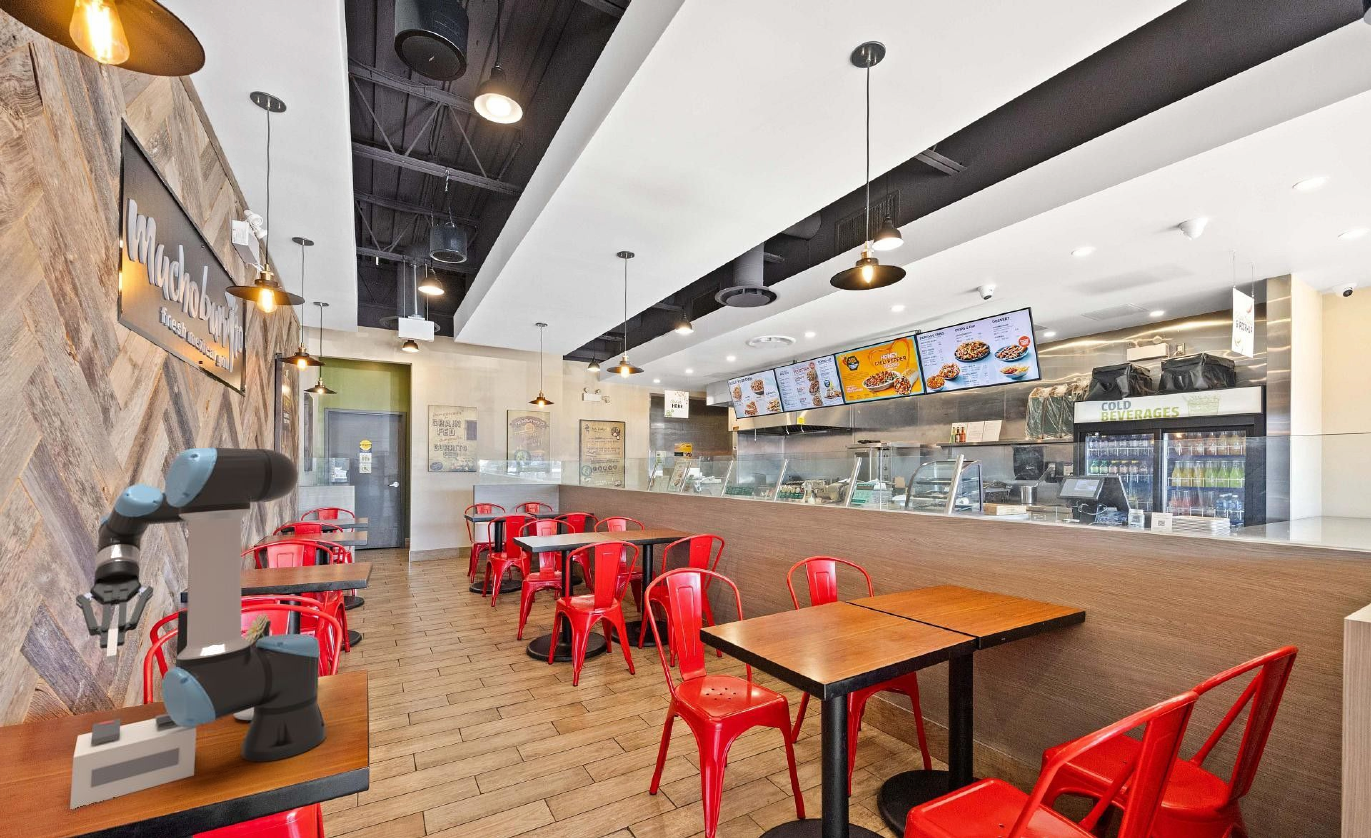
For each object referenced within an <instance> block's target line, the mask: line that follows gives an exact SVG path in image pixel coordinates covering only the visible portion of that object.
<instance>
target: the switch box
mask: <svg viewBox="0 0 1371 838" xmlns="http://www.w3.org/2000/svg"><path fill="white" fill-rule="evenodd" d="M155 719H156V717H155V718H151V719H146V720H142V721H138V722H132V723H129V724H124V725H120V737H119V738H118V739H114V740H109V741H105V742H101V743H97V744H92V745H91V739H92V732H89V733H84V734H78V735H77V739H76V744H75V749H74V753H73V760H72V775H71V790H70V804H69V805H70V806H69V807H70V808H69V810H70V811H72V810H75V808H76V809H78V808H77V807H79V808H81V807H80V806H83V805H86V806H89V804H90V805H92V804H91V803H93V802H97V803H100V801H101V802H103V800H104V801H107V800H111V799H114V798H113V797H115V798H118V797H123V796H125V795H128V794H133V793H136V792H140V791H143V790H146V789H149V788H153V787H154V788H155V787H158V786H160V785H165V784H167V783H172V782H174V781H175V782H176V781H179V780H182V779H185V778H189V777H193V776H194V775H195V763H196V762H195V760H196V739H197V726H194V727H188V728H185V727H181V726H179V725H177V724H176V723H175V722H174V721H173V720H171V721H167V722H162V723H158V724H156V722H155ZM83 807H84V806H83ZM71 809H72V810H71Z"/></svg>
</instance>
